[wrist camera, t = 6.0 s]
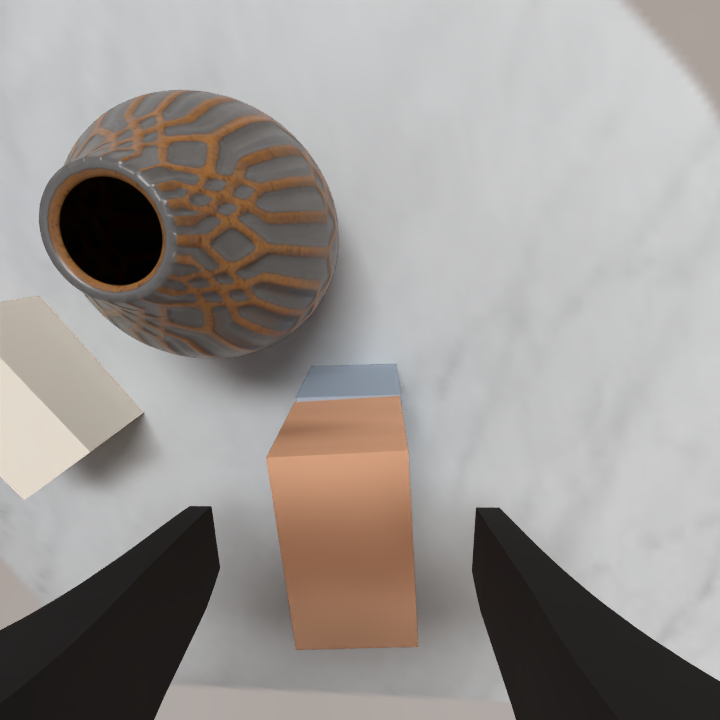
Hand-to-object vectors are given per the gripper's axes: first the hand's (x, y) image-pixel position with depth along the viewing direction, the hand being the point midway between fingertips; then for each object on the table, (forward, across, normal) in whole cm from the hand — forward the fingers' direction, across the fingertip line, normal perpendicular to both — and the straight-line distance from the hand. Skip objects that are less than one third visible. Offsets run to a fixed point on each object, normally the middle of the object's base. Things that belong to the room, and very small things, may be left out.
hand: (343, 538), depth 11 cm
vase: (+7, +4, -8) cm, 11 cm away
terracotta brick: (+3, 0, 0) cm, 3 cm away
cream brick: (+7, +12, -2) cm, 14 cm away
